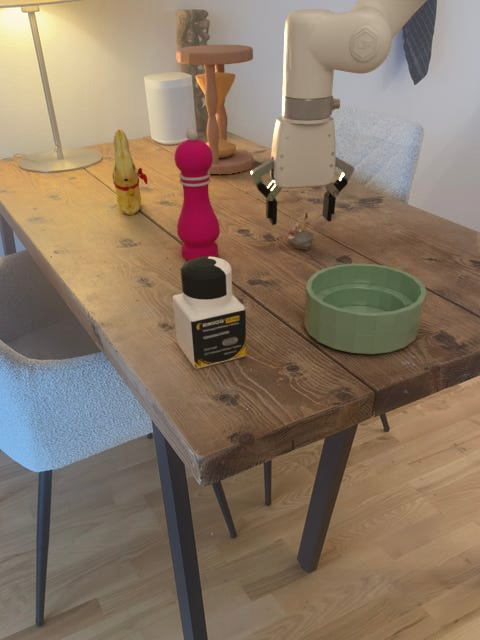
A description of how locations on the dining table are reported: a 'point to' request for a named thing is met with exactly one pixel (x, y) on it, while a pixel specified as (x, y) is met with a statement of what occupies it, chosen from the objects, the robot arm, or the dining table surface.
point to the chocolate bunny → (126, 176)
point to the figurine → (300, 235)
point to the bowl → (364, 308)
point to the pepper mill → (196, 199)
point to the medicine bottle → (209, 313)
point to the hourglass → (219, 101)
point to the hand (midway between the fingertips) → (299, 220)
